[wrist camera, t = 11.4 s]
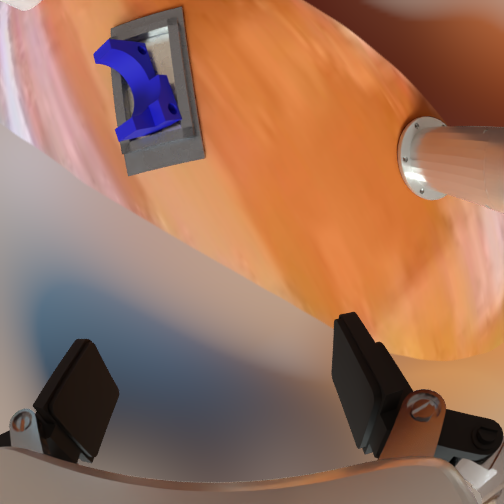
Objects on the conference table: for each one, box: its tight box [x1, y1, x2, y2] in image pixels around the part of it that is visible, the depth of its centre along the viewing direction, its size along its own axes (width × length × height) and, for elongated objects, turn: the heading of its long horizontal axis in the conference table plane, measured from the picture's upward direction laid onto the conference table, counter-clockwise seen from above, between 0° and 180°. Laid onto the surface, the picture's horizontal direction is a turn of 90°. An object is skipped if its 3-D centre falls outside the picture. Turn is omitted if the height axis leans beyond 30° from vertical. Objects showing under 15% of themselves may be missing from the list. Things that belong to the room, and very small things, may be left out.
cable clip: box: [93, 39, 182, 142], centre depth 25 cm, size 12×4×6 cm, turn 19°
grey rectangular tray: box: [109, 7, 205, 176], centre depth 28 cm, size 10×22×3 cm, turn 9°
